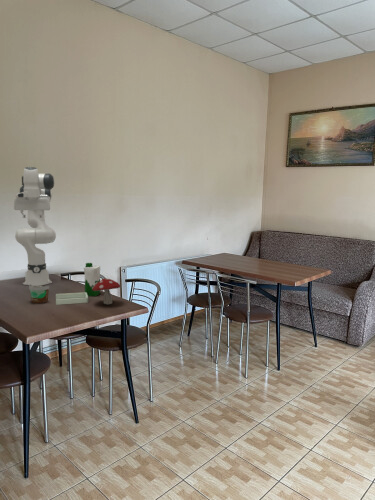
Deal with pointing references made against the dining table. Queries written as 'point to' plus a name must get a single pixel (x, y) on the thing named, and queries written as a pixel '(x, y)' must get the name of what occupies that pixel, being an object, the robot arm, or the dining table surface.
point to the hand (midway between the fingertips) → (32, 217)
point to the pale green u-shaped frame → (74, 299)
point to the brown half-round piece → (39, 294)
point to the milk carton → (91, 278)
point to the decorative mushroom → (106, 288)
